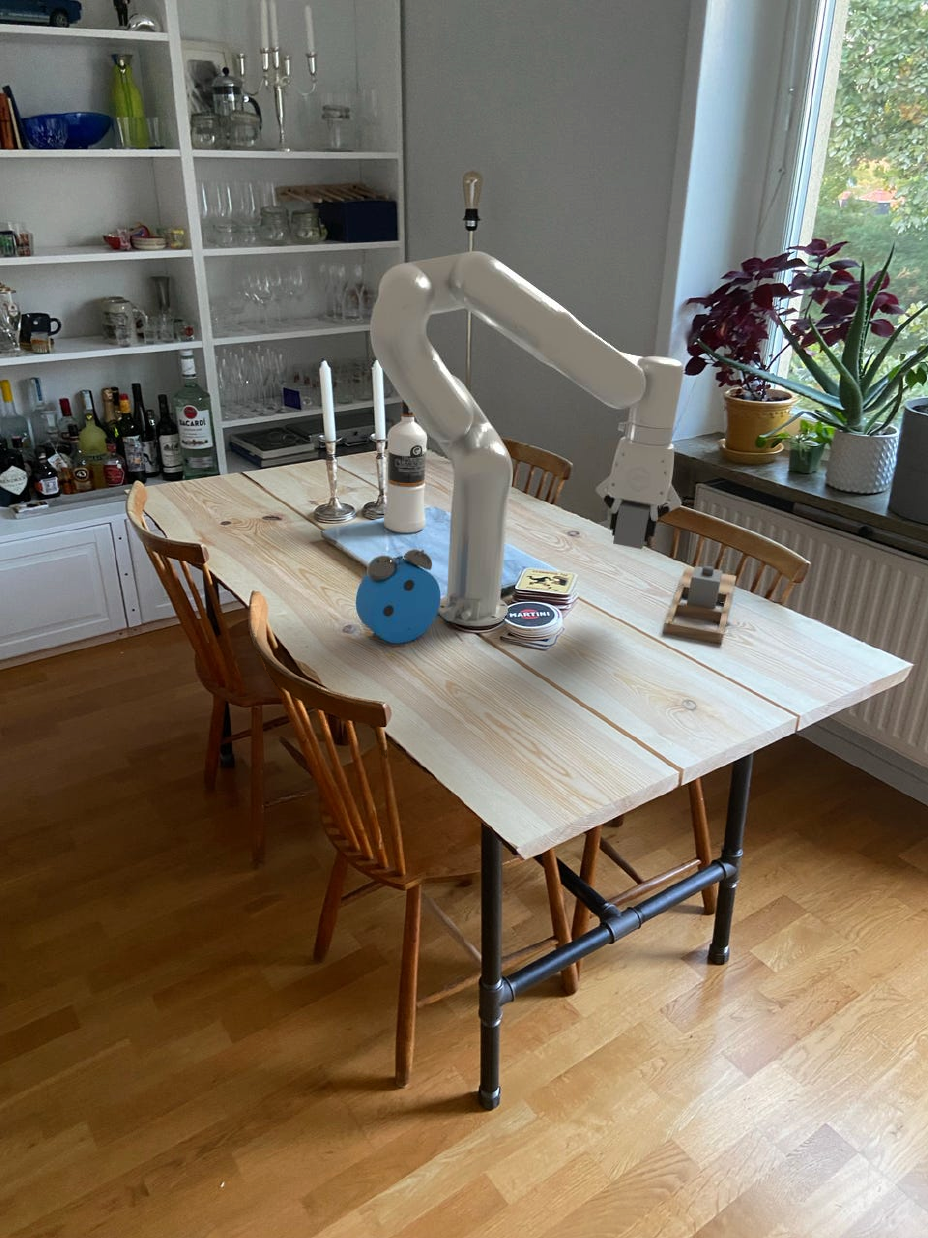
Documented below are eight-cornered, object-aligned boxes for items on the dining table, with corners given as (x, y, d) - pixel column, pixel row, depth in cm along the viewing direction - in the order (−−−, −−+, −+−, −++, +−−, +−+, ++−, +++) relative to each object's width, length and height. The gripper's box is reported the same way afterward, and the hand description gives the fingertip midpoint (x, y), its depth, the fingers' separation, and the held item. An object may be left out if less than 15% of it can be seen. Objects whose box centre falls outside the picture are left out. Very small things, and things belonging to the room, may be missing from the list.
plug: (641, 549, 156) (649, 503, 152) (613, 543, 157) (620, 498, 154) (647, 538, 161) (655, 494, 158) (619, 533, 163) (626, 489, 159)
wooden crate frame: (721, 644, 156) (724, 629, 155) (663, 632, 159) (665, 618, 158) (734, 585, 180) (737, 572, 179) (683, 576, 183) (686, 563, 182)
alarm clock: (420, 622, 157) (424, 540, 151) (440, 636, 153) (444, 553, 146) (354, 638, 150) (354, 554, 144) (373, 653, 146) (374, 567, 139)
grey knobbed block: (712, 617, 166) (720, 575, 163) (685, 612, 168) (692, 570, 164) (716, 604, 171) (723, 564, 168) (689, 599, 173) (696, 559, 169)
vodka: (415, 518, 206) (420, 384, 193) (432, 531, 198) (438, 393, 185) (377, 522, 202) (379, 385, 189) (392, 536, 194) (396, 395, 181)
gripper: (594, 430, 150) (579, 533, 158) (697, 447, 146) (677, 552, 153) (603, 421, 157) (588, 521, 164) (702, 437, 152) (682, 539, 160)
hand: (631, 535), depth 159 cm, fingers closed on plug, 5 cm apart
